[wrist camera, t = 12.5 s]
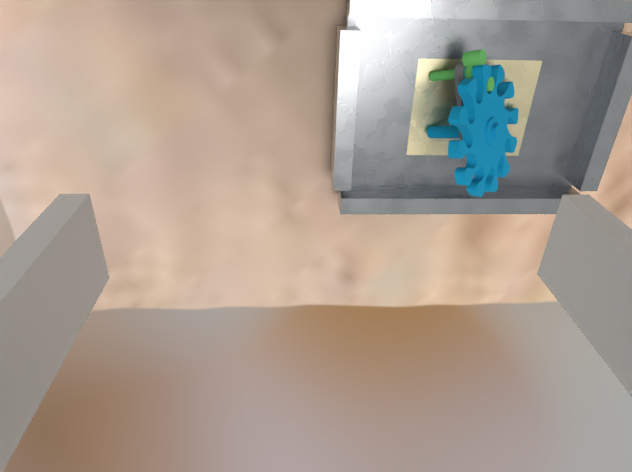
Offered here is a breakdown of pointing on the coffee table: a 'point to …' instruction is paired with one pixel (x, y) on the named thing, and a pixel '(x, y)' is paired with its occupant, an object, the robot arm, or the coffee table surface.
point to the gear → (478, 122)
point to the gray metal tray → (439, 97)
